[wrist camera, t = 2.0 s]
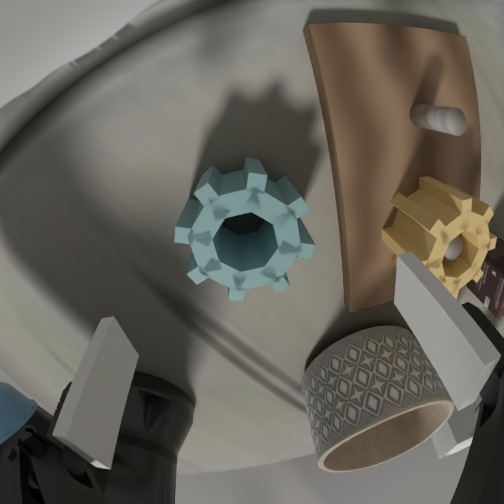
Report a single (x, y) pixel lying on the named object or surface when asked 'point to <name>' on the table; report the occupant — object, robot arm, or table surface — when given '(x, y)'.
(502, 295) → the box
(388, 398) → the planter
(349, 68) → the gear board
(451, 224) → the gear out
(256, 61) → the table surface
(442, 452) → the skincare box
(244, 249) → the gear
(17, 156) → the table surface
